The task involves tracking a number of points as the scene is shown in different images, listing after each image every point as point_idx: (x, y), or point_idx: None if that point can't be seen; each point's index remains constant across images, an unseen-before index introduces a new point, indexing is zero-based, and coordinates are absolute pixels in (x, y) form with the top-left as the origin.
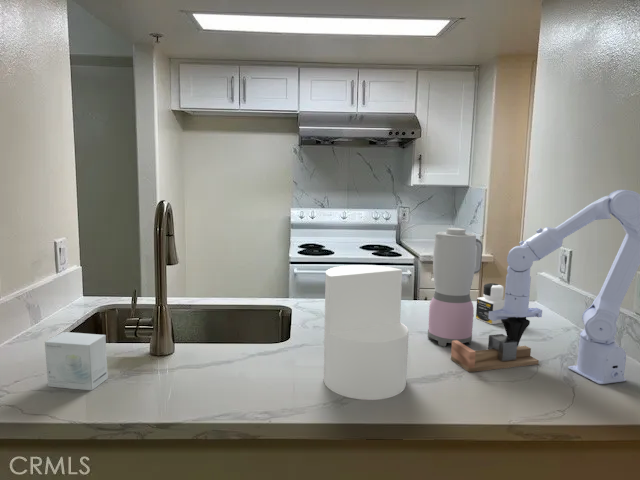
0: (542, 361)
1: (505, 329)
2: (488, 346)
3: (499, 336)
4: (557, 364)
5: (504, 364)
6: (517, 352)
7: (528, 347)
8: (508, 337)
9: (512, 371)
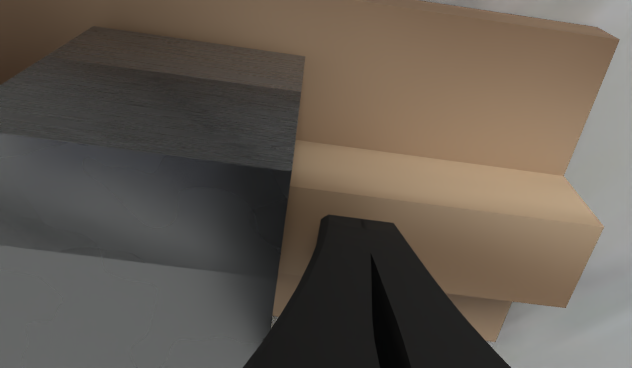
0: (584, 289)
1: (250, 362)
2: (56, 56)
3: (126, 254)
4: (628, 364)
5: None
6: None
7: (570, 280)
8: (260, 335)
9: None
